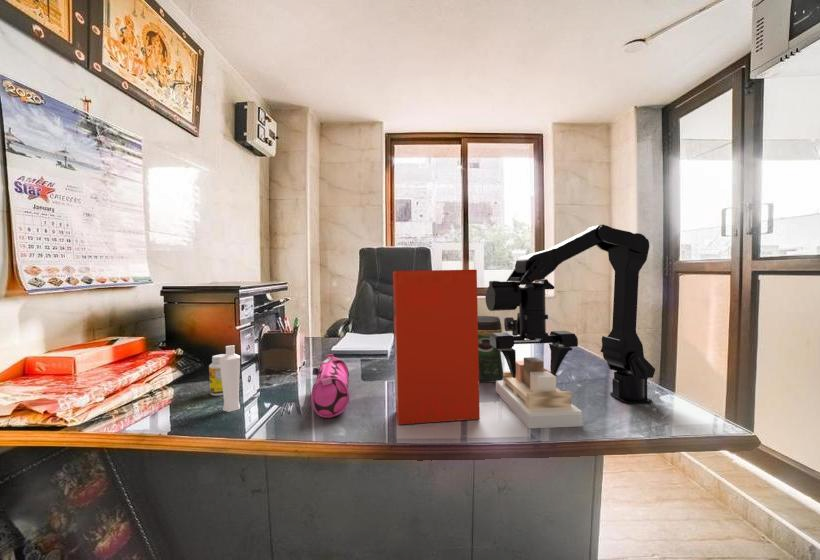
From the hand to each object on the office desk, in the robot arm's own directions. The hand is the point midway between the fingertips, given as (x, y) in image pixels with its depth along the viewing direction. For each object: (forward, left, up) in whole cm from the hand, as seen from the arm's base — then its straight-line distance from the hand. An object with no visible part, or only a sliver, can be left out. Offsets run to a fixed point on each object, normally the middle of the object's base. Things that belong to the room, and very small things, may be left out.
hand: (533, 376), depth 82 cm
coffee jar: (+5, -22, -7) cm, 24 cm away
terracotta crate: (0, -5, -2) cm, 5 cm away
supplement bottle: (+79, -18, -7) cm, 82 cm away
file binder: (+23, +3, -7) cm, 24 cm away
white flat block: (0, 0, -7) cm, 7 cm away
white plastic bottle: (+71, -6, -7) cm, 72 cm away
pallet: (0, 0, -4) cm, 4 cm away
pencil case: (+48, -8, -7) cm, 49 cm away
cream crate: (0, +5, -2) cm, 5 cm away
